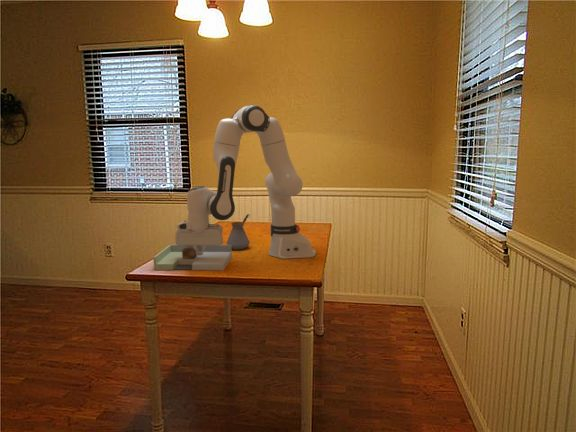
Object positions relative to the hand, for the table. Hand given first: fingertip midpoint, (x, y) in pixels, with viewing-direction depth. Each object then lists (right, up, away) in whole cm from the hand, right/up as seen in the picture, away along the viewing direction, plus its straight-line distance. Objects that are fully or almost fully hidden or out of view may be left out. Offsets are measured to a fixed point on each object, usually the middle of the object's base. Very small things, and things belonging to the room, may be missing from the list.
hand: (199, 255), depth 175 cm
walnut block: (-5, -1, 0) cm, 5 cm away
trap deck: (-2, -4, +1) cm, 4 cm away
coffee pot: (+15, +1, +31) cm, 34 cm away
